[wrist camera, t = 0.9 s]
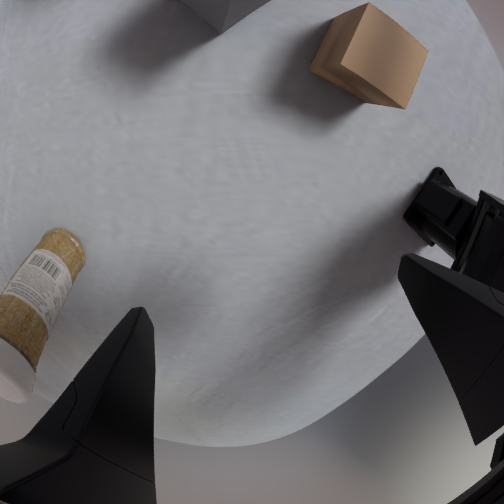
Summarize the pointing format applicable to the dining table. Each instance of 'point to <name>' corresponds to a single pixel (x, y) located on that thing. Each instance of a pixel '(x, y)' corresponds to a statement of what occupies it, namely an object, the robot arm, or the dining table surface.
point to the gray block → (223, 11)
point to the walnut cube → (370, 57)
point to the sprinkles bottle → (34, 309)
